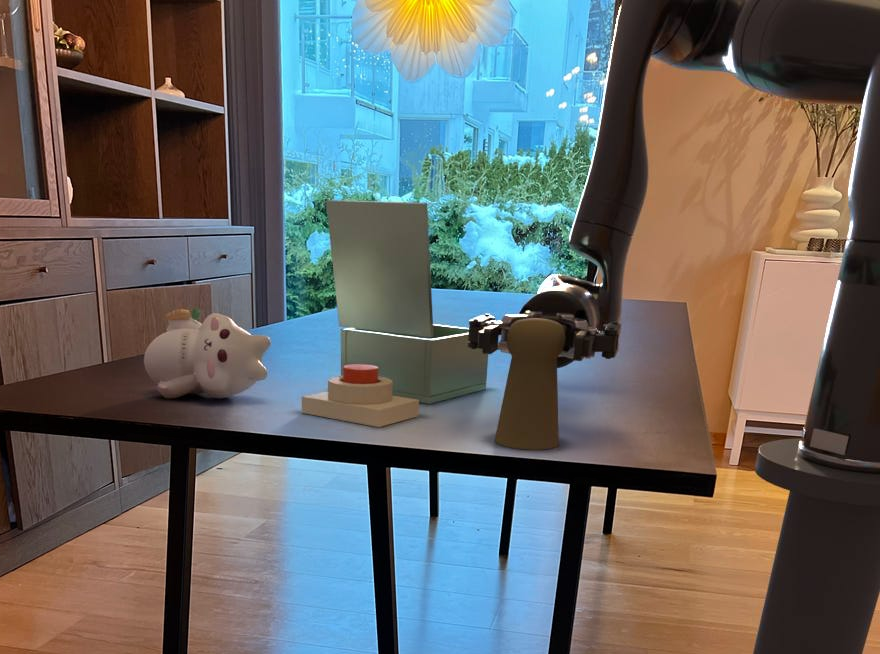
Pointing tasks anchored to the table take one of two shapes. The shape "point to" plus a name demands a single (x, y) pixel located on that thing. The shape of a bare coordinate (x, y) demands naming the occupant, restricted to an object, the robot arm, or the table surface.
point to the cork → (531, 386)
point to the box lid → (381, 265)
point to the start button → (360, 374)
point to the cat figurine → (205, 356)
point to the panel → (361, 403)
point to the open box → (419, 361)
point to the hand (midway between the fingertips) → (532, 345)
